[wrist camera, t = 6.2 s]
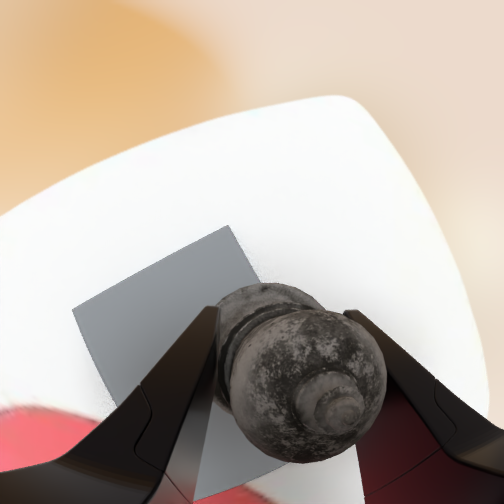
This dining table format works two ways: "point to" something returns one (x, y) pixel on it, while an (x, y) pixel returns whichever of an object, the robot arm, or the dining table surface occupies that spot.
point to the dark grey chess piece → (296, 373)
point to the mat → (165, 334)
